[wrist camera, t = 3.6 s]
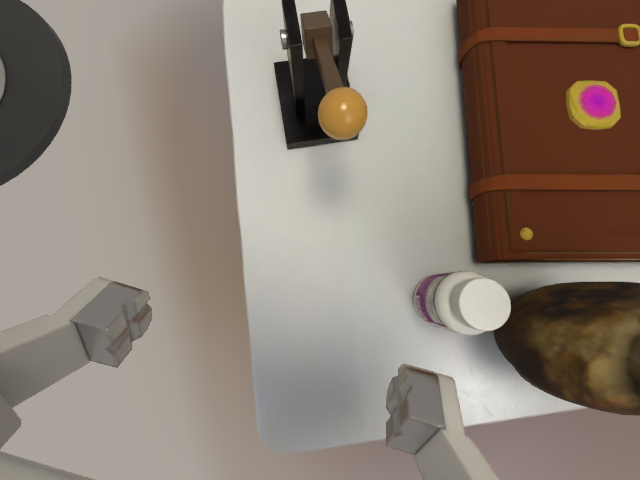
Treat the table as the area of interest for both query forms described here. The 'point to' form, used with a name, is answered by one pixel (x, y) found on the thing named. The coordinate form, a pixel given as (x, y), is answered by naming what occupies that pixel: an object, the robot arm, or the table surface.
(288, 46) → the black lever stand
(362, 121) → the lever
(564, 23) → the book
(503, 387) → the table surface
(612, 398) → the brown lumpy potato
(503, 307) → the pill bottle
